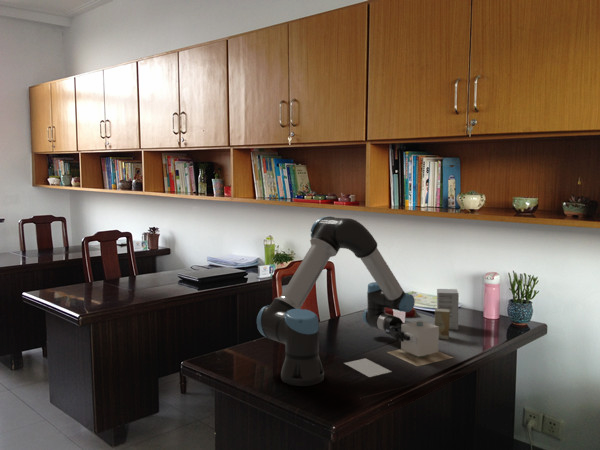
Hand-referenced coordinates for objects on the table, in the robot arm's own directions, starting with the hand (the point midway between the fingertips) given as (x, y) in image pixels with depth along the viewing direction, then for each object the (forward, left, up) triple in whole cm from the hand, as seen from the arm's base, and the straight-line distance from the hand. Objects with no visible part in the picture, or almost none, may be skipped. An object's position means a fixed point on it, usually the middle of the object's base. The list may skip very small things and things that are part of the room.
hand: (427, 338), depth 205 cm
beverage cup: (+18, +38, -8) cm, 43 cm away
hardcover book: (+30, +59, -9) cm, 67 cm away
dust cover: (0, +4, -6) cm, 7 cm away
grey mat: (-22, +4, -8) cm, 24 cm away
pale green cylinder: (0, +4, -8) cm, 9 cm away
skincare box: (+24, +17, -8) cm, 31 cm away
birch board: (0, +4, -8) cm, 9 cm away
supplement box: (+38, +28, -8) cm, 48 cm away
